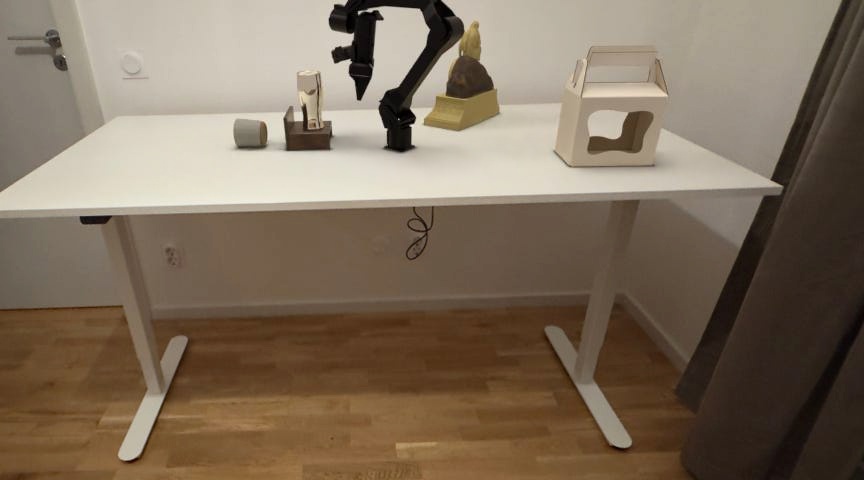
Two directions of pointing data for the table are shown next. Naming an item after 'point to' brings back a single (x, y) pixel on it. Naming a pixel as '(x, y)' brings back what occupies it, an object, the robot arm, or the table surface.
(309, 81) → the beer glass
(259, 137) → the ceramic mug
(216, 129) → the table surface
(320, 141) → the desk shelf
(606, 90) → the gable box
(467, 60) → the tan and brown statue
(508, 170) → the table surface
